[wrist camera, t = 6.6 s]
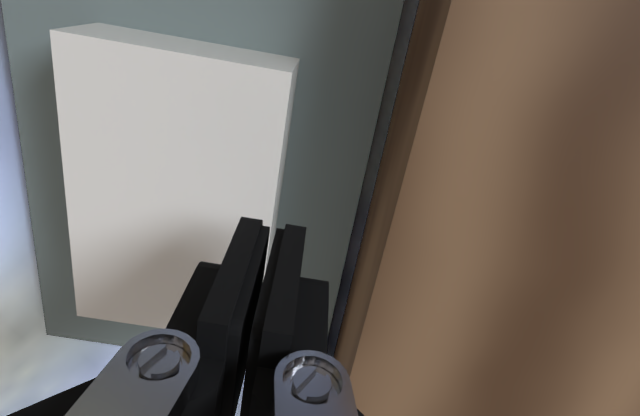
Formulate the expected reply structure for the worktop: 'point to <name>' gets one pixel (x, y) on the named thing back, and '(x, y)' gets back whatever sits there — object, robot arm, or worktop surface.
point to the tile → (163, 159)
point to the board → (505, 218)
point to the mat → (304, 136)
